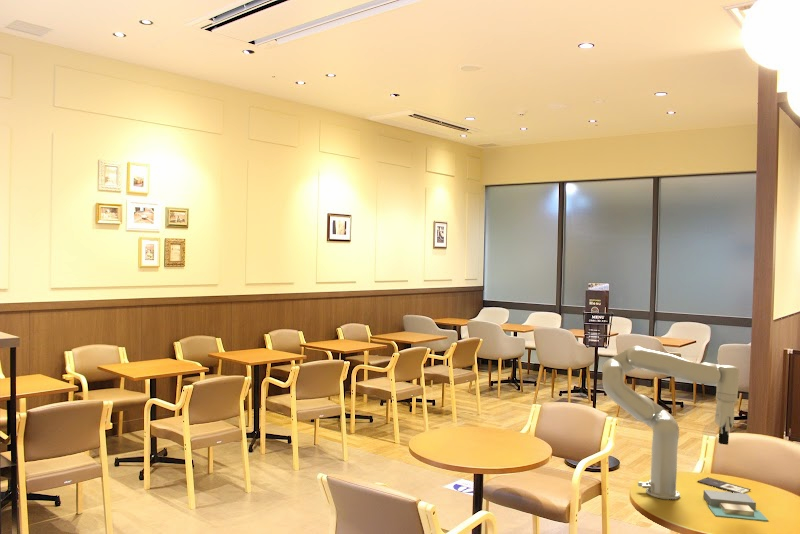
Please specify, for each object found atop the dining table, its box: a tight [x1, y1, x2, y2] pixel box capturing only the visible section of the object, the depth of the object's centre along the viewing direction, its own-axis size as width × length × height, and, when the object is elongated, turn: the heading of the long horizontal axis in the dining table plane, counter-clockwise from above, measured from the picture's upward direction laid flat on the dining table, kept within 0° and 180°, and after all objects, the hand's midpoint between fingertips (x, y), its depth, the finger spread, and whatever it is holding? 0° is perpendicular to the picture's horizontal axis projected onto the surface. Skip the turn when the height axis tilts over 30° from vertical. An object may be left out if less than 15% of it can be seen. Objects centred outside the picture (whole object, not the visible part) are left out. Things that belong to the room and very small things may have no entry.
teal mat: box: [707, 504, 770, 522], centre depth 246 cm, size 18×10×1 cm, turn 80°
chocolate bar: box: [696, 476, 752, 494], centre depth 277 cm, size 9×1×18 cm
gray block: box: [703, 489, 757, 510], centre depth 256 cm, size 16×10×3 cm, turn 80°
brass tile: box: [719, 502, 754, 516], centre depth 248 cm, size 10×7×2 cm
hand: (723, 443), depth 259 cm, fingers closed
